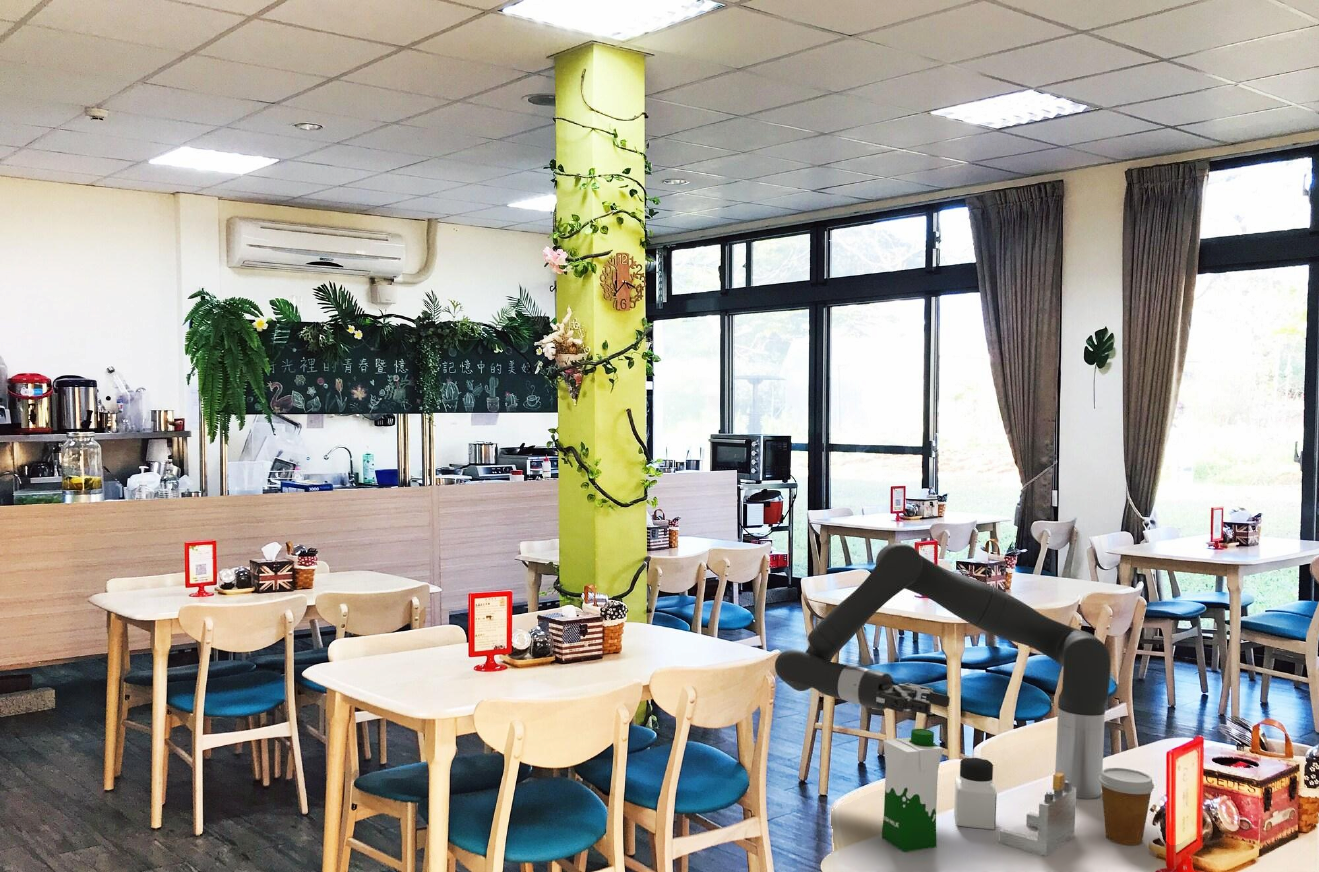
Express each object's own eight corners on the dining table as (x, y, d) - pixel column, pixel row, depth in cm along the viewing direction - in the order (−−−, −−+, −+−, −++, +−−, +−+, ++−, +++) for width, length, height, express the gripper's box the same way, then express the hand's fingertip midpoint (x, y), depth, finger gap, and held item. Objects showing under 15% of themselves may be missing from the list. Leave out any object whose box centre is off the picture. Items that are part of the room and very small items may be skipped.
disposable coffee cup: (1127, 852, 202) (1130, 785, 202) (1085, 833, 211) (1087, 770, 211) (1163, 844, 207) (1166, 779, 206) (1120, 826, 215) (1123, 764, 215)
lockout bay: (1029, 823, 215) (1032, 757, 215) (1074, 835, 210) (1077, 767, 209) (999, 842, 204) (1002, 773, 204) (1045, 856, 199) (1048, 784, 199)
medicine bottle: (995, 830, 211) (997, 767, 211) (956, 826, 212) (958, 763, 212) (991, 817, 218) (994, 756, 218) (953, 813, 219) (956, 752, 219)
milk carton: (944, 848, 201) (948, 737, 200) (901, 854, 197) (906, 741, 197) (914, 831, 209) (918, 724, 208) (873, 836, 205) (877, 728, 205)
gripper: (849, 673, 224) (925, 691, 214) (883, 664, 235) (956, 681, 225) (846, 711, 224) (922, 730, 214) (880, 699, 235) (953, 718, 225)
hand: (939, 705), depth 219 cm, fingers open, 8 cm apart
